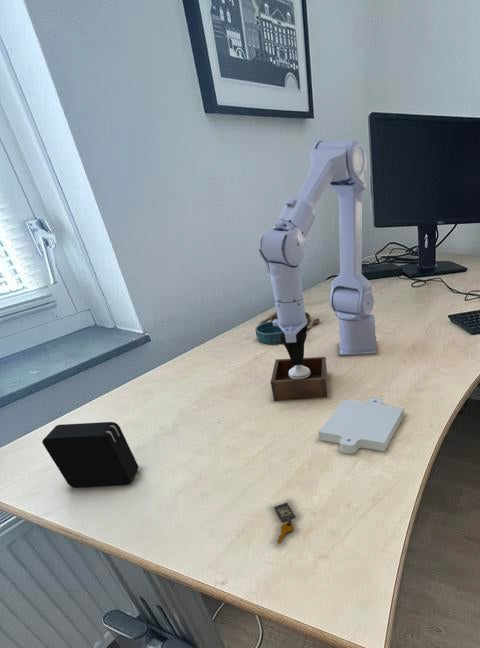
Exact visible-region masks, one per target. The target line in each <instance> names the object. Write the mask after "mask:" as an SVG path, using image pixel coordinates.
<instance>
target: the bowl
mask: <svg viewBox="0 0 480 648" xmlns="http://www.w3.org/2000/svg"><path fill="white" fill-rule="evenodd" d="M254 328H255V329H254V331H255V335H256V339H257V341H258V342H260V343H262V344H265V345H278V344H283V343H282V342H281V340H280V338H279V334H280V333H282V331H281V329H280V327H279V326H273V321H272V322H271V321H265V322H263V323H260V324H258V325H256V326H255V327H254Z"/></svg>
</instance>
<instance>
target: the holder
mask: <svg viewBox="0 0 480 648" xmlns="http://www.w3.org/2000/svg"><path fill="white" fill-rule="evenodd" d="M294 366H295V365H293V364H292V361H291V359H290V358H281V359H280V358H277V359H275V361H274V364H273V369H272V374H271V378H270V387H271V391H272V396H273V401H275V402H276V401H292V400H293V401H294V400H295V401H296V400H311V399H326V398H328V366H327V357H326V356H315V357H312V356H311V357H304V358H303V366H305V367H307V368H309V369H310V372H311V374H310V375H309V376H308V377H306V378H303V379H293V378H291V377H289V370H290V369H291V368H293V367H294Z"/></svg>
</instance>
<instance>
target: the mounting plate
mask: <svg viewBox="0 0 480 648" xmlns="http://www.w3.org/2000/svg"><path fill="white" fill-rule="evenodd" d="M404 412H405V408H404V407H401V406H393V405H385V404H384V400H383V399H382V398H381V397H376V396H375V397H370V398H368V400H367V401H358V400H352V399H345V398H344V399H343V401H341V403H340V405H339V406H338V407H337V408H336V409H335V411H334V412H333V413H332V414H331V416H329V418H328V419H327V421H325V423H324V424H323V426H322V427H321V428H320V429H319V431H318V436H319V441H322V442H327V443H333V444H339V448H340V452H341V453H343V454H348V455H353V454H355V453H357V451H358V450H359V449H369V450H373V451H379V452H385V451H386V450H387V448H388V446H389V444H390V442H391V440H392V438H393V437H394V435H395V433H396V432H397V429H398V428H399V426H400V424H401V423H402V420H403V418H404V416H405V413H404Z"/></svg>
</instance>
